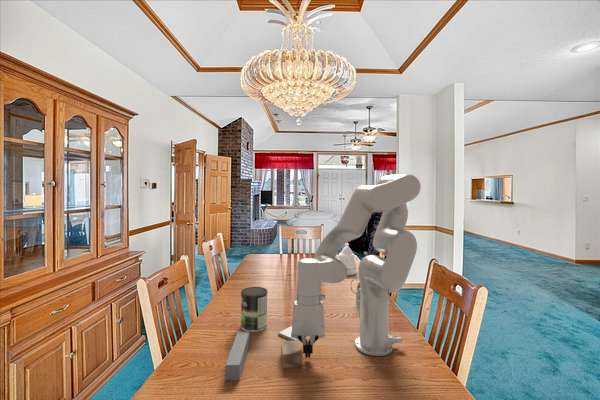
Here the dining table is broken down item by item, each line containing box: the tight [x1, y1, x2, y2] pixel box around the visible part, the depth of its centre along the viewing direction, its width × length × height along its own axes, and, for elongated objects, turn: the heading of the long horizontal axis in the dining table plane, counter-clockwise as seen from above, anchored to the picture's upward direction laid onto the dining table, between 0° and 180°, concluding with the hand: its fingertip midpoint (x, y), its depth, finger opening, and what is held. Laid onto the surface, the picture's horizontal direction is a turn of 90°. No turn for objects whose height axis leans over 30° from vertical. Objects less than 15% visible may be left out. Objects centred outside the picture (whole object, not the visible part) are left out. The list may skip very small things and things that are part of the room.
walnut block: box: [280, 340, 304, 369], centre depth 98 cm, size 6×8×4 cm
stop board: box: [224, 331, 250, 381], centre depth 98 cm, size 4×20×4 cm, turn 1°
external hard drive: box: [278, 325, 300, 341], centre depth 117 cm, size 2×8×12 cm
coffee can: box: [240, 286, 269, 333], centre depth 121 cm, size 10×10×14 cm
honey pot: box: [337, 242, 358, 276], centre depth 200 cm, size 13×13×18 cm
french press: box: [350, 251, 369, 309], centre depth 144 cm, size 10×12×25 cm
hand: (307, 355), depth 98 cm, fingers closed
